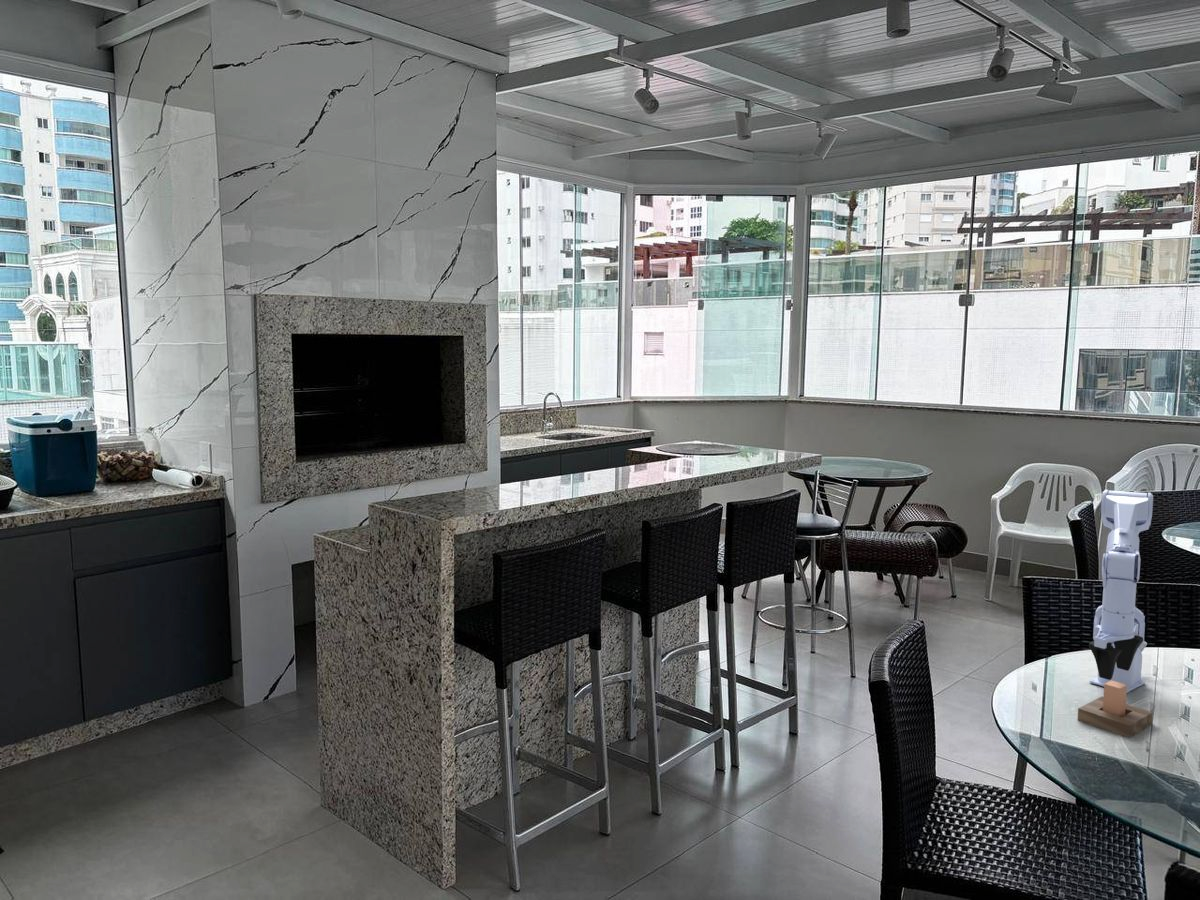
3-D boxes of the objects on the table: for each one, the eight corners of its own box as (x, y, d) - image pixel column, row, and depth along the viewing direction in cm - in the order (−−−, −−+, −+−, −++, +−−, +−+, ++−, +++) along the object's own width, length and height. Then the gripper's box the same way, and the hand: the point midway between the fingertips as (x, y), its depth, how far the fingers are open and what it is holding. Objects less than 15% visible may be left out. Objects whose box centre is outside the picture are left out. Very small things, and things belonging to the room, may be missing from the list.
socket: (1101, 707, 187) (1102, 696, 186) (1152, 723, 178) (1153, 712, 178) (1077, 719, 181) (1078, 708, 181) (1129, 737, 173) (1129, 725, 172)
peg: (1109, 717, 182) (1111, 680, 181) (1124, 722, 180) (1127, 684, 178) (1102, 720, 180) (1104, 683, 179) (1117, 726, 178) (1119, 688, 177)
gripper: (1114, 598, 185) (1110, 659, 187) (1080, 612, 177) (1076, 676, 179) (1150, 606, 180) (1146, 669, 181) (1117, 621, 171) (1113, 687, 173)
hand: (1114, 673), depth 180 cm, fingers open, 7 cm apart
